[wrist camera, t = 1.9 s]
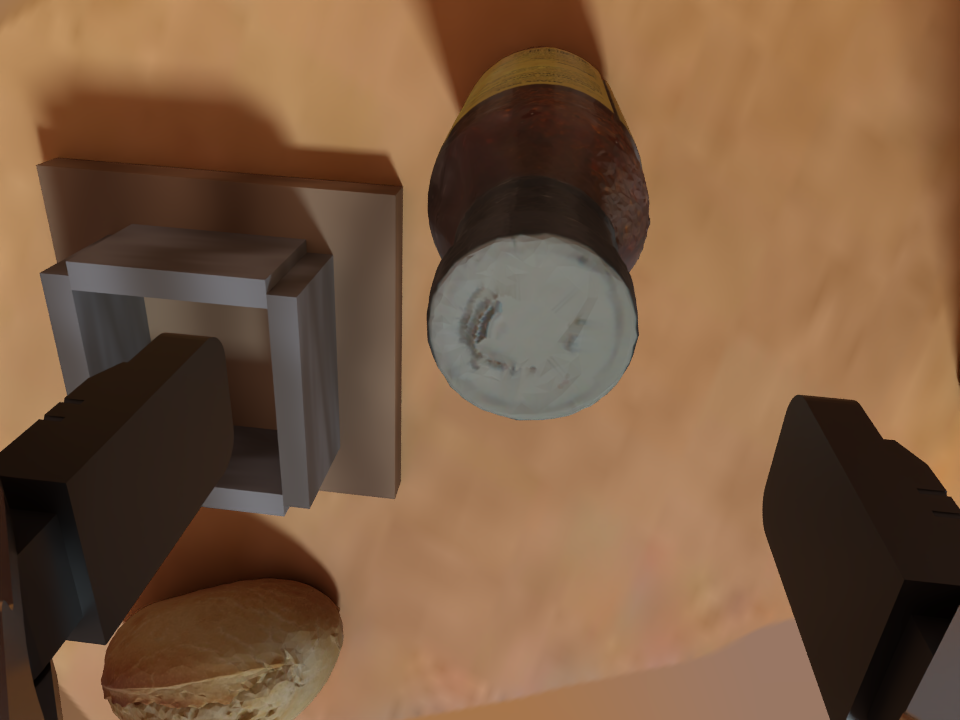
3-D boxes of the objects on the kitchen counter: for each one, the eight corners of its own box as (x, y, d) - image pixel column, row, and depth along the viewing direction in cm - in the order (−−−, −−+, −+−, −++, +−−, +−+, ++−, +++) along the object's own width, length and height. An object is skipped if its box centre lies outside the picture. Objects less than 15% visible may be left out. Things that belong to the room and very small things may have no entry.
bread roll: (98, 585, 47) (14, 693, 40) (304, 527, 43) (251, 636, 36) (181, 689, 51) (117, 805, 44) (377, 645, 47) (342, 765, 40)
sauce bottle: (438, 115, 32) (269, 291, 14) (553, 6, 29) (523, 56, 12) (538, 231, 34) (498, 514, 16) (654, 137, 31) (758, 349, 14)
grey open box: (402, 186, 33) (366, 230, 28) (400, 481, 41) (372, 565, 35) (56, 157, 34) (-47, 194, 29) (115, 450, 42) (42, 525, 36)
